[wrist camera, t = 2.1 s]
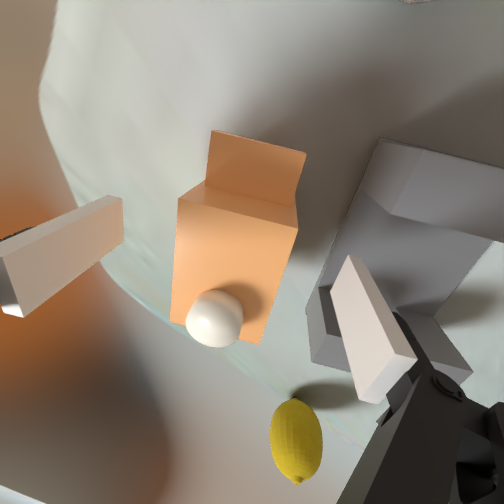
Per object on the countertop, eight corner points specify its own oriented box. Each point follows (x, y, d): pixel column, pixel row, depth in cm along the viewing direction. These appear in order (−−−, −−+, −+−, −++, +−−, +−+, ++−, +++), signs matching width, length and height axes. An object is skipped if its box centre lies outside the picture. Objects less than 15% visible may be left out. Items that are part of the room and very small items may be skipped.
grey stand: (531, 175, 16) (656, 202, 10) (408, 335, 23) (444, 398, 18) (379, 137, 16) (426, 144, 10) (305, 308, 23) (310, 363, 18)
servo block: (304, 145, 16) (325, 171, 7) (262, 284, 22) (246, 392, 13) (232, 127, 16) (168, 131, 8) (210, 270, 22) (158, 369, 13)
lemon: (267, 404, 31) (261, 487, 24) (279, 379, 28) (276, 463, 21) (308, 416, 31) (315, 502, 24) (325, 391, 28) (337, 480, 21)
